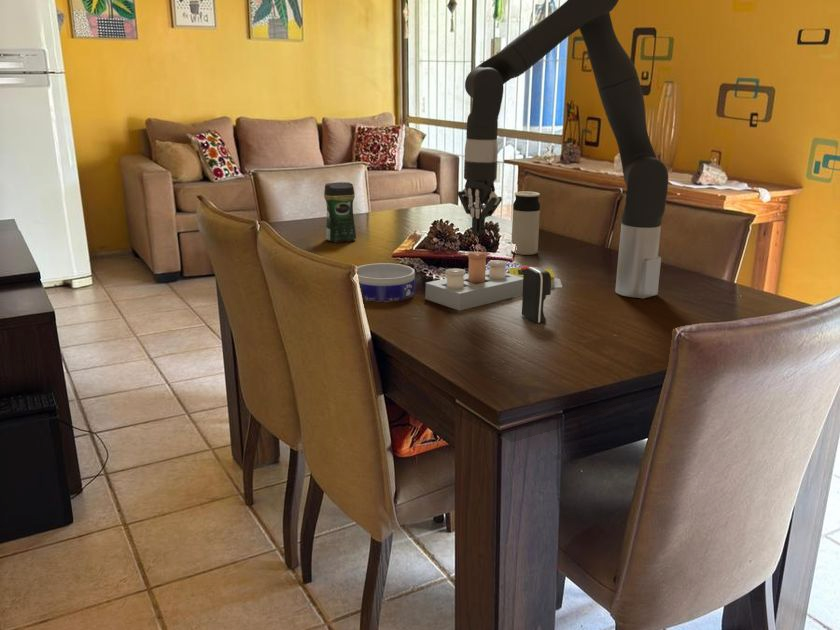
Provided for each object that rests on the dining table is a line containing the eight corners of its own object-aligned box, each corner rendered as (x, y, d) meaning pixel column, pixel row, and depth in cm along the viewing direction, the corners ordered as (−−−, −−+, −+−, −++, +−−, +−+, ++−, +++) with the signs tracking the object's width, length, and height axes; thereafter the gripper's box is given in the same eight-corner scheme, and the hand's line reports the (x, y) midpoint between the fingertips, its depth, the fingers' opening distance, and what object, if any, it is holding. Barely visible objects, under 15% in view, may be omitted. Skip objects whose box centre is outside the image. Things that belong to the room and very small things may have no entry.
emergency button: (503, 262, 201) (560, 264, 200) (502, 278, 202) (559, 280, 201) (503, 271, 192) (563, 273, 191) (503, 288, 194) (562, 290, 192)
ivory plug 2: (509, 290, 188) (511, 262, 186) (496, 293, 185) (497, 265, 183) (496, 286, 191) (497, 259, 189) (483, 289, 188) (484, 262, 186)
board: (525, 294, 186) (526, 278, 185) (459, 310, 173) (459, 293, 172) (491, 284, 195) (491, 269, 194) (425, 298, 182) (425, 282, 181)
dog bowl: (401, 306, 177) (401, 280, 175) (341, 299, 182) (340, 274, 180) (423, 289, 190) (423, 266, 189) (367, 283, 195) (367, 260, 194)
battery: (551, 322, 165) (554, 271, 162) (535, 324, 164) (538, 273, 160) (535, 313, 171) (538, 264, 168) (520, 315, 170) (522, 265, 166)
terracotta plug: (490, 283, 183) (491, 254, 181) (476, 286, 180) (477, 257, 178) (476, 279, 186) (477, 251, 184) (463, 282, 183) (463, 253, 181)
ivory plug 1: (468, 300, 179) (469, 271, 177) (454, 303, 177) (454, 274, 174) (455, 295, 183) (456, 267, 181) (441, 299, 180) (441, 270, 178)
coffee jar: (352, 237, 251) (351, 180, 245) (358, 241, 243) (357, 183, 238) (323, 238, 248) (321, 181, 242) (328, 243, 240) (326, 184, 235)
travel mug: (525, 256, 225) (528, 195, 220) (505, 252, 231) (508, 192, 226) (542, 253, 230) (546, 193, 225) (523, 248, 236) (525, 190, 231)
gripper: (513, 160, 172) (509, 236, 177) (472, 155, 181) (470, 227, 187) (489, 162, 167) (486, 240, 172) (449, 157, 177) (447, 230, 182)
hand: (477, 233), depth 180 cm, fingers closed
